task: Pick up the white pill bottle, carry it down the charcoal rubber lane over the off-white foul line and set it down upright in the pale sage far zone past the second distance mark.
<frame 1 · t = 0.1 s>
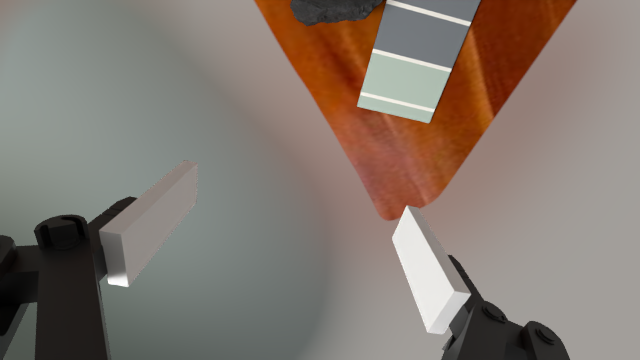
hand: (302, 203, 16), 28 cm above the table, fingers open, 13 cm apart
lane: (422, 29, 36), on the table
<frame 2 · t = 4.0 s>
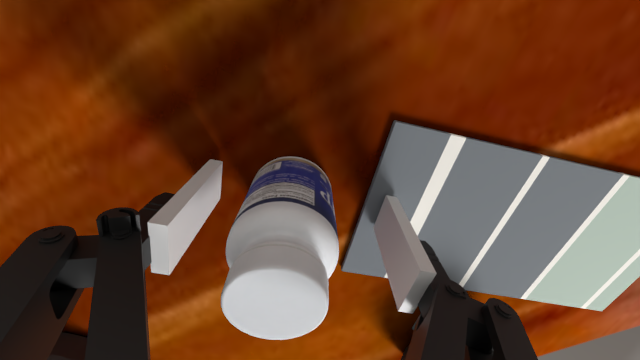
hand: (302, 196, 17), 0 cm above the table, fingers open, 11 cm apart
lane: (517, 233, 20), on the table
pill bottle: (292, 189, 18), on the table
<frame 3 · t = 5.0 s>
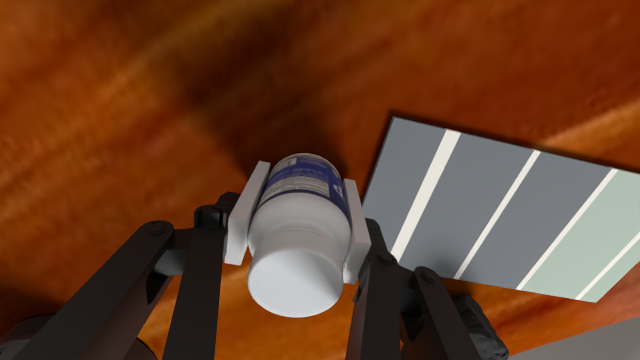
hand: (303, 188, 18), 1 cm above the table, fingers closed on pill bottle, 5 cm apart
lane: (511, 225, 20), on the table
pill bottle: (305, 184, 19), on the table, touching gripper
rock: (432, 324, 26), on the table
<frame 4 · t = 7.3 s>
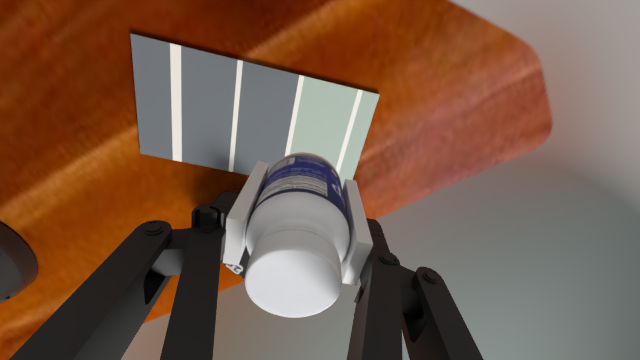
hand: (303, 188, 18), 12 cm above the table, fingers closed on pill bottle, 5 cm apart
lane: (254, 124, 28), on the table
pill bottle: (304, 183, 19), point 11 cm above the table, touching gripper
rock: (242, 220, 34), on the table
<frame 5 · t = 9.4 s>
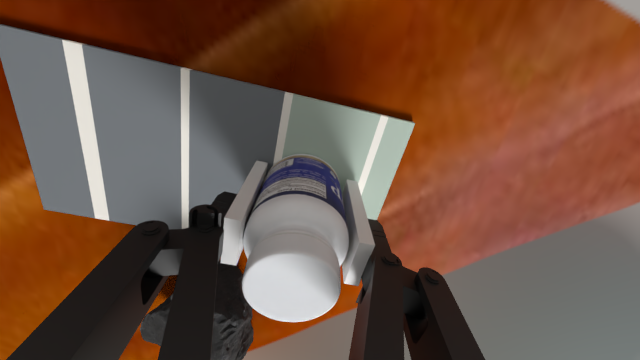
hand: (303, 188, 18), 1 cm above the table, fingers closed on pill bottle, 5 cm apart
lane: (217, 167, 18), on the table
pill bottle: (302, 185, 19), resting on lane, touching gripper
rock: (213, 294, 24), on the table
when the fingers open (1 cm above the table, at t = 10.0 s): pill bottle stays where it is, resting on lane.
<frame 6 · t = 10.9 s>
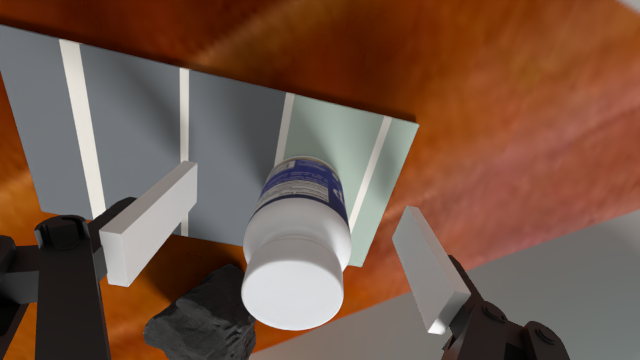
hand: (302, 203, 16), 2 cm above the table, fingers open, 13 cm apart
lane: (217, 169, 18), on the table
pill bottle: (304, 187, 18), resting on lane
rock: (216, 298, 24), on the table
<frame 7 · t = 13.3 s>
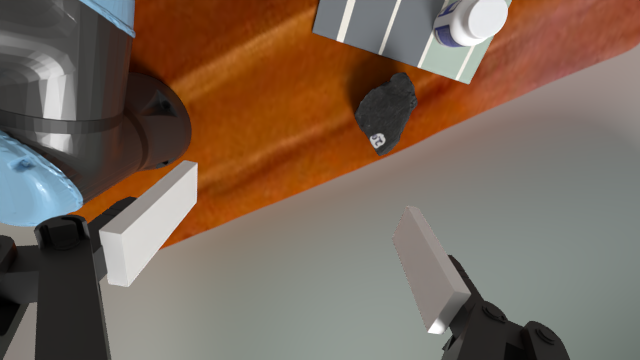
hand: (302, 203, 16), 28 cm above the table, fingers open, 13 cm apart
lane: (410, 11, 35), on the table
pill bottle: (451, 25, 36), resting on lane
rock: (378, 111, 41), on the table
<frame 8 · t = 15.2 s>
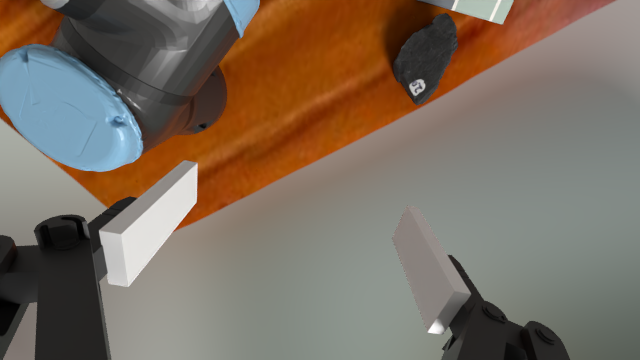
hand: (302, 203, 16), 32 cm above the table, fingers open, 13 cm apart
rock: (414, 61, 42), on the table
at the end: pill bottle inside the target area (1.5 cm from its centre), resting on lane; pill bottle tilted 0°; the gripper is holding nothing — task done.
